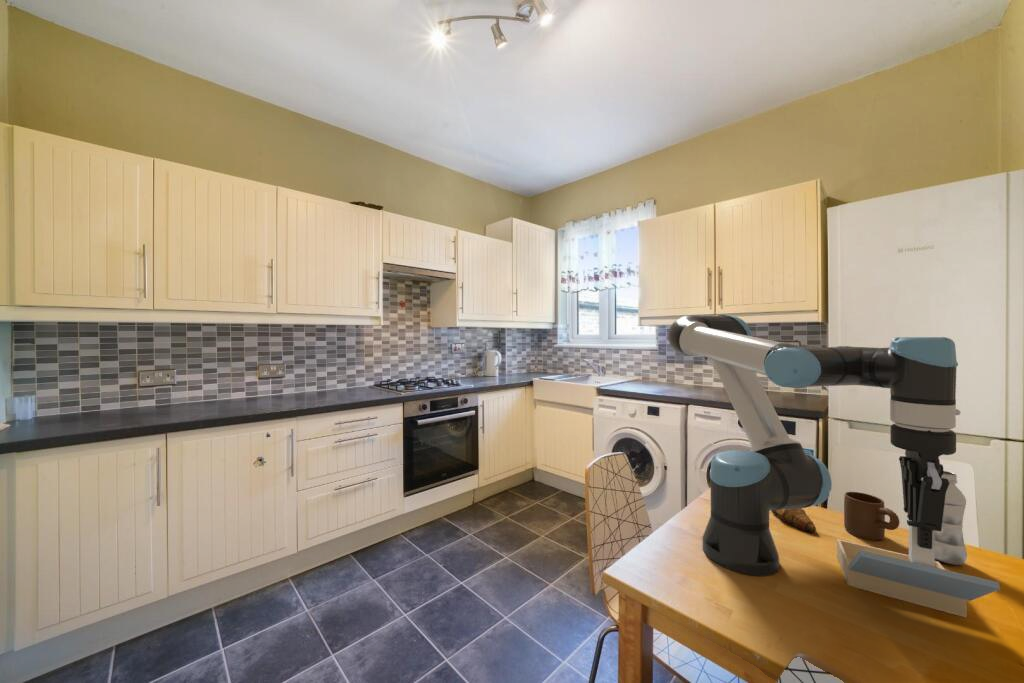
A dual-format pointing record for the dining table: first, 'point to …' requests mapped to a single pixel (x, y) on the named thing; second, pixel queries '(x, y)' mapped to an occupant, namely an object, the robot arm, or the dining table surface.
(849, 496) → the mug
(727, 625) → the dining table surface
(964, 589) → the lid
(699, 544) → the dining table surface
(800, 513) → the croissant
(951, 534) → the plastic bottle
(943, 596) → the base
